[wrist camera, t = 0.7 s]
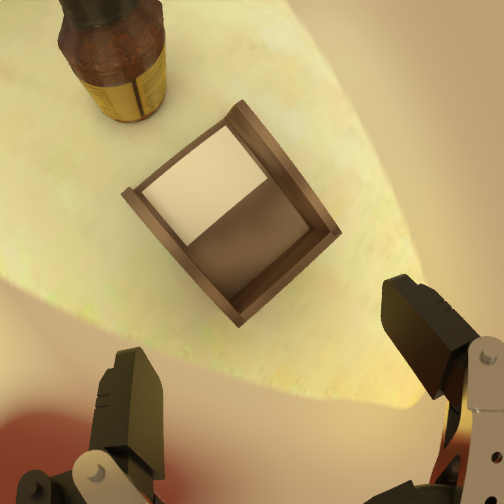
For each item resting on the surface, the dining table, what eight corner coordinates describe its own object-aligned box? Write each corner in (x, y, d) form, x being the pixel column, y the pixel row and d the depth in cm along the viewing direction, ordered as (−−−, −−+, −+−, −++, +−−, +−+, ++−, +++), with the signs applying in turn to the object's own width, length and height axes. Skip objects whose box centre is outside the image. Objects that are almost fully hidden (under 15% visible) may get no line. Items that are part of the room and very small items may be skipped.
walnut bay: (127, 196, 26) (120, 194, 22) (229, 116, 28) (242, 99, 23) (226, 309, 30) (238, 328, 25) (316, 229, 32) (342, 233, 27)
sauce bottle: (153, 55, 25) (163, -111, 6) (175, 110, 27) (209, -41, 8) (87, 82, 24) (17, -62, 5) (108, 139, 25) (25, 24, 6)
